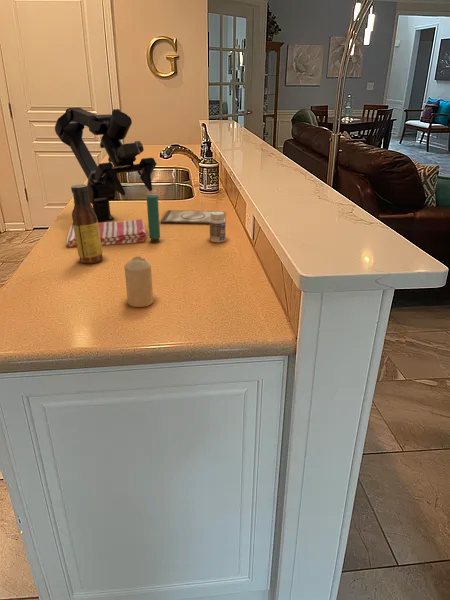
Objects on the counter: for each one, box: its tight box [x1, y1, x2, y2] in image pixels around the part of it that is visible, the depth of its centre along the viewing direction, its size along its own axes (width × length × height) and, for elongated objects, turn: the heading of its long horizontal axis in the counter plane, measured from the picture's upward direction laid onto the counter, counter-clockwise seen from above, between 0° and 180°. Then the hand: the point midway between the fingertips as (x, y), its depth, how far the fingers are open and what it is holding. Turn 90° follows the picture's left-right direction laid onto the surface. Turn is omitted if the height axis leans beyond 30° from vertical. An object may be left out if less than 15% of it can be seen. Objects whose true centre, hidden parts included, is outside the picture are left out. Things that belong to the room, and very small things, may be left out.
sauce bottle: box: [70, 183, 103, 264], centre depth 122 cm, size 6×6×20 cm
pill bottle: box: [209, 210, 227, 243], centre depth 140 cm, size 5×5×8 cm
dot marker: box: [146, 194, 161, 244], centre depth 138 cm, size 3×3×14 cm
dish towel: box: [65, 218, 148, 248], centre depth 145 cm, size 17×23×4 cm
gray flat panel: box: [160, 209, 224, 225], centre depth 164 cm, size 20×15×1 cm
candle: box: [124, 256, 154, 308], centre depth 101 cm, size 6×6×10 cm
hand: (138, 192), depth 141 cm, fingers open, 9 cm apart
